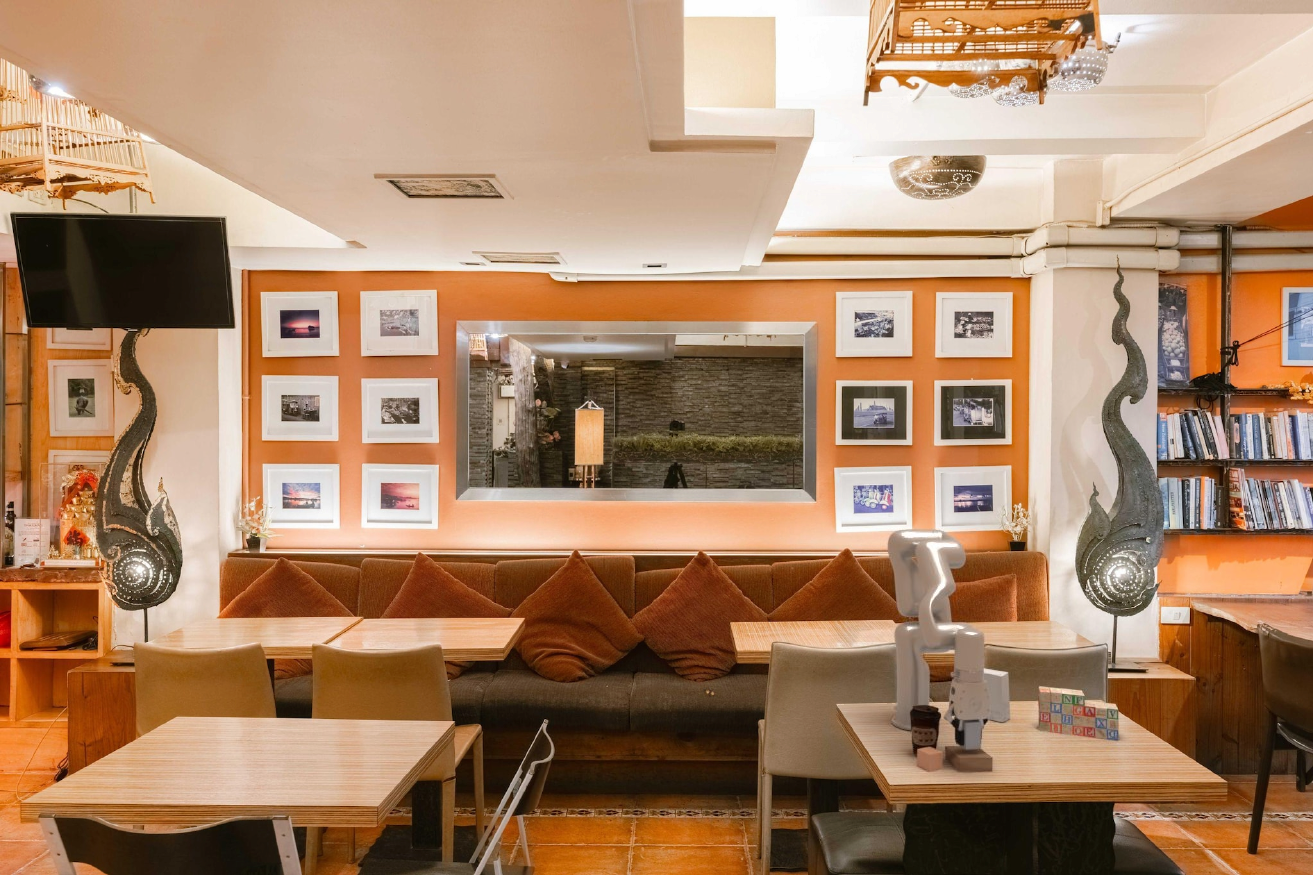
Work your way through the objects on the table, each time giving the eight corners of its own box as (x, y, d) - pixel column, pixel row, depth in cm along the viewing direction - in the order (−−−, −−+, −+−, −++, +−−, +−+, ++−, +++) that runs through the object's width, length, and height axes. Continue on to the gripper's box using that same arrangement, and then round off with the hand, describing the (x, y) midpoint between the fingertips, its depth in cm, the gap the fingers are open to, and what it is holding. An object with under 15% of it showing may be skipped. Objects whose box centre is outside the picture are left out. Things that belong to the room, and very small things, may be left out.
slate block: (956, 743, 229) (956, 717, 229) (970, 742, 230) (970, 716, 230) (965, 749, 225) (966, 723, 225) (980, 748, 226) (981, 721, 226)
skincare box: (1010, 719, 267) (1010, 672, 267) (1002, 723, 263) (1002, 675, 263) (984, 713, 273) (984, 667, 273) (976, 717, 269) (976, 670, 269)
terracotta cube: (917, 765, 226) (917, 749, 227) (929, 763, 229) (929, 746, 229) (929, 771, 223) (930, 754, 223) (942, 768, 225) (942, 751, 225)
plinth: (944, 760, 231) (945, 746, 231) (976, 760, 232) (976, 745, 232) (959, 773, 222) (959, 758, 222) (992, 772, 223) (992, 757, 223)
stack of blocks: (1115, 734, 254) (1116, 693, 254) (1118, 741, 249) (1119, 699, 249) (1038, 725, 262) (1038, 685, 262) (1039, 731, 256) (1039, 690, 257)
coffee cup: (940, 762, 229) (940, 714, 229) (908, 757, 232) (908, 710, 232) (941, 751, 237) (941, 705, 238) (910, 747, 240) (910, 701, 240)
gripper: (949, 680, 222) (948, 750, 222) (1005, 677, 226) (1004, 745, 226) (933, 673, 229) (932, 740, 229) (987, 670, 233) (987, 736, 233)
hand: (968, 742), depth 227 cm, fingers closed on slate block, 4 cm apart
